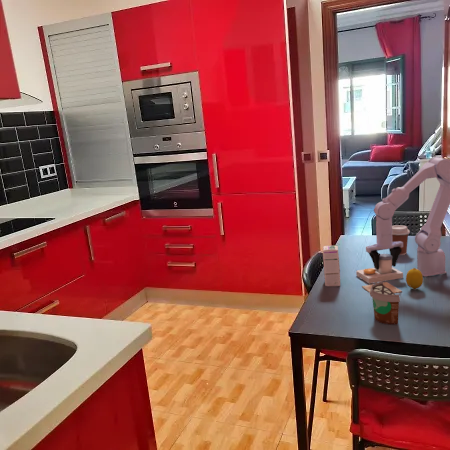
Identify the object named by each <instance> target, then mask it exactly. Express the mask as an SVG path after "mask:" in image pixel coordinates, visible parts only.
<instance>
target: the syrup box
mask: <svg viewBox="0 0 450 450" xmlns="http://www.w3.org/2000/svg"><path fill="white" fill-rule="evenodd" d="M339 255H340V254H339V246H338V245H335V244H334V245H324V246H322V258H323V261H322V262H323V272H324V273H323V275H324V286H325V287H340V286H341V270H340V267H341V266H340V257H339Z"/></svg>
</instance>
